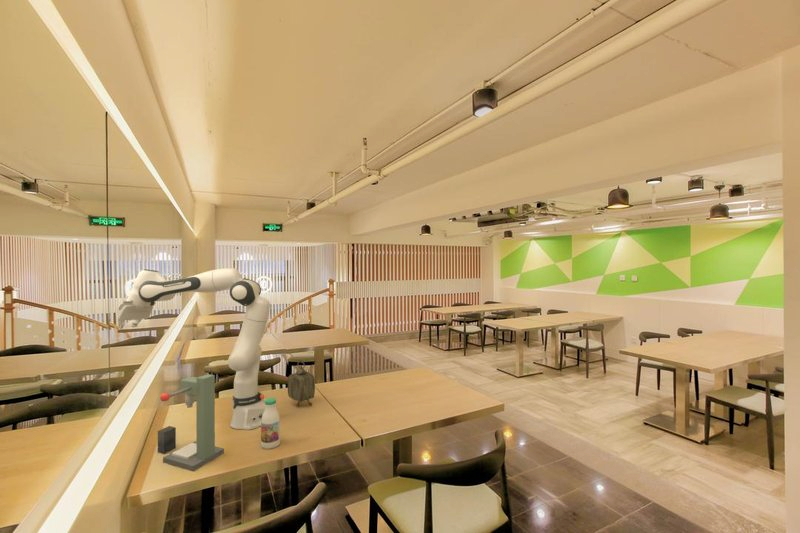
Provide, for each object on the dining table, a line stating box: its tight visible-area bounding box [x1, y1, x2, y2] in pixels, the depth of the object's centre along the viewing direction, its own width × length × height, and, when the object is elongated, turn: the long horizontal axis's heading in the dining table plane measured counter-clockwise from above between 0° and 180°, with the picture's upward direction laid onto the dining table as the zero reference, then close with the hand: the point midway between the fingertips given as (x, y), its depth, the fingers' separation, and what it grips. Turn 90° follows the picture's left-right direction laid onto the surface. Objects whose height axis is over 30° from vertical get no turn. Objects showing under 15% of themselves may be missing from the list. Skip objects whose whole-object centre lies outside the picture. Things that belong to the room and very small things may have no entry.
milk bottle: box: [260, 397, 281, 450], centre depth 152 cm, size 8×8×20 cm
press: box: [159, 374, 225, 472], centre depth 139 cm, size 17×22×34 cm
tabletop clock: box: [287, 360, 316, 407], centre depth 197 cm, size 14×9×25 cm, turn 49°
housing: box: [157, 425, 177, 455], centre depth 148 cm, size 5×4×9 cm
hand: (126, 327), depth 168 cm, fingers open, 8 cm apart
